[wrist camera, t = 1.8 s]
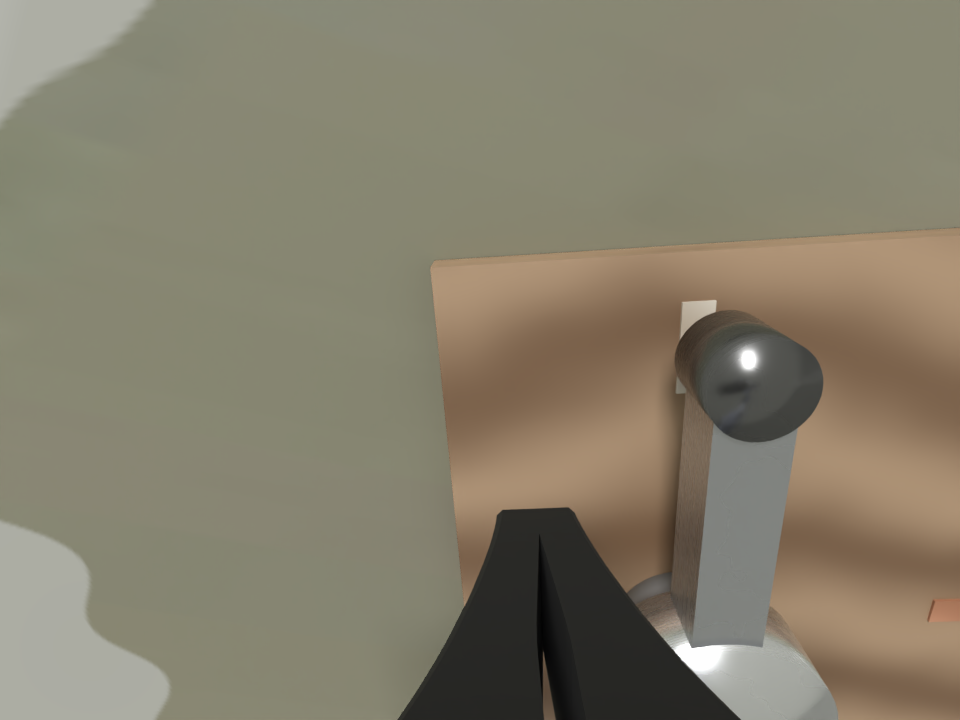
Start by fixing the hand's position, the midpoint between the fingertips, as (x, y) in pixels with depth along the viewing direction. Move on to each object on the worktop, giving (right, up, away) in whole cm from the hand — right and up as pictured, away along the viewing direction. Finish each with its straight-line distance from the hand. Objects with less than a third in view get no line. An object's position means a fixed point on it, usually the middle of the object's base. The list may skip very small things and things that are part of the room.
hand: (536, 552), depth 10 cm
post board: (+9, -3, +10) cm, 14 cm away
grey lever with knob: (+6, -3, +7) cm, 10 cm away
